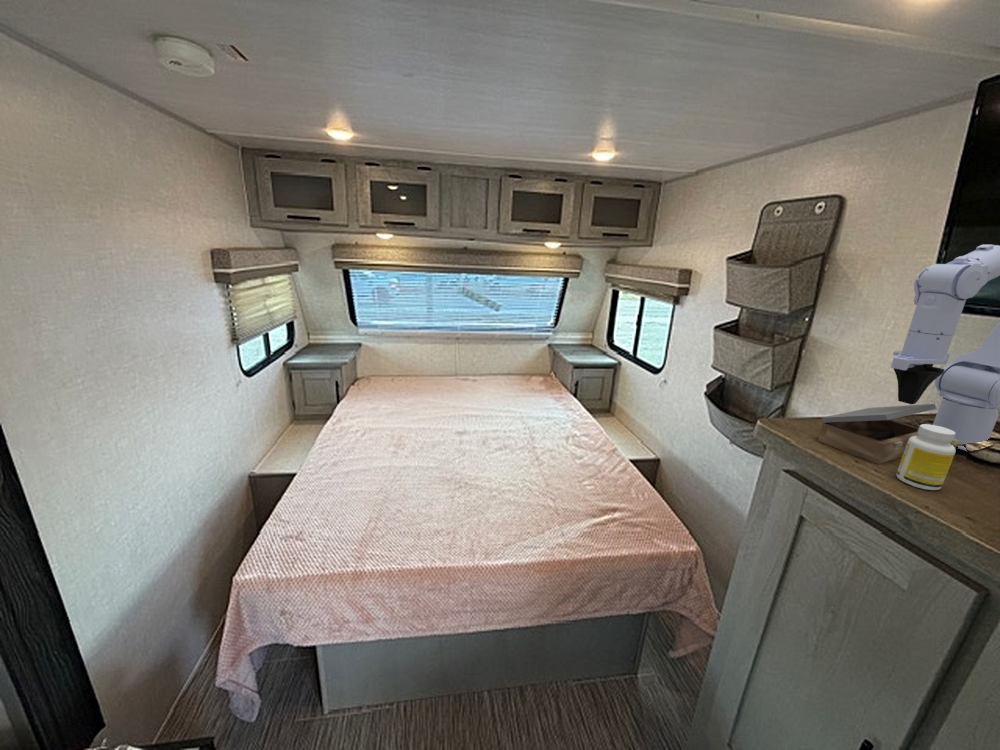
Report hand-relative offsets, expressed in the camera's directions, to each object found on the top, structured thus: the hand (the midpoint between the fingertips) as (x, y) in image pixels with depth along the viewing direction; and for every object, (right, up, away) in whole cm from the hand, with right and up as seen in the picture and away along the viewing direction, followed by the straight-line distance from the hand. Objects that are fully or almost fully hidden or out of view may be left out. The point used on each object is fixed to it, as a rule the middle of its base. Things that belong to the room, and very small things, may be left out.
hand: (906, 402), depth 76 cm
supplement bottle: (-8, -13, -9) cm, 18 cm away
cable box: (-4, -9, +3) cm, 10 cm away
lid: (-4, -3, +2) cm, 5 cm away
